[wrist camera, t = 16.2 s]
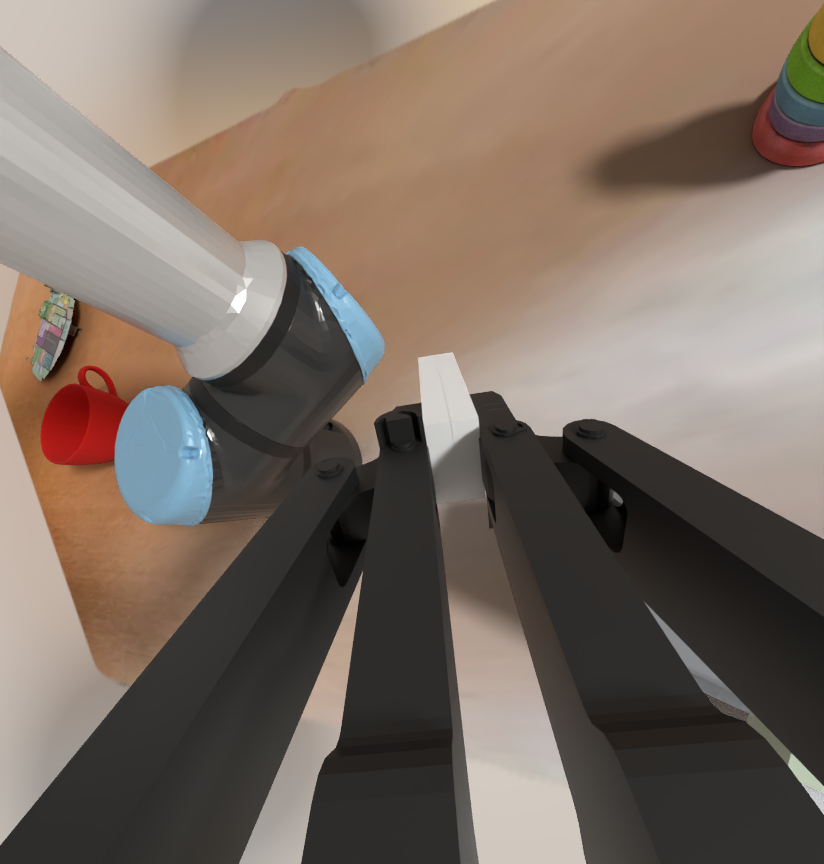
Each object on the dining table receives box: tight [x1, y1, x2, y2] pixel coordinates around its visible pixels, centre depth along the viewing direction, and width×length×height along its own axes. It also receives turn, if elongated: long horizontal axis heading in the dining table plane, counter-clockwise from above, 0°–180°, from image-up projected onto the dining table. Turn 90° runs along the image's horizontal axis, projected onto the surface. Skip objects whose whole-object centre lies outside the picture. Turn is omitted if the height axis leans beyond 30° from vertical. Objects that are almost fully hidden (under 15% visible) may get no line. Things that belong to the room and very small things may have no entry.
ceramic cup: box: [41, 366, 129, 465], centre depth 62 cm, size 13×17×10 cm
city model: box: [26, 284, 80, 382], centre depth 79 cm, size 25×23×6 cm
